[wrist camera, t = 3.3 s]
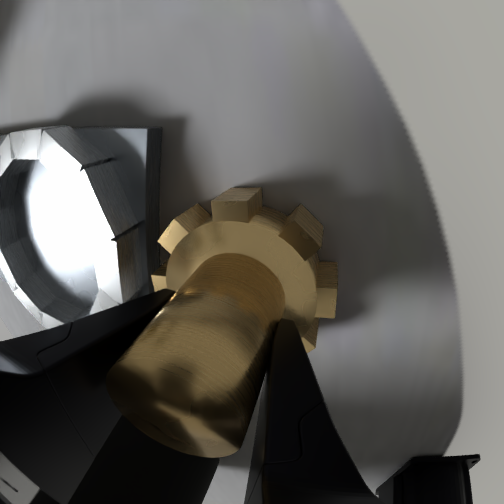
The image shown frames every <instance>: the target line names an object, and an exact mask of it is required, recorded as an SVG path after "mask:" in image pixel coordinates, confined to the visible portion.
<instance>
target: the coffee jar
mask: <svg viewBox="0 0 504 504" xmlns="http://www.w3.org/2000/svg"><path fill="white" fill-rule="evenodd" d="M218 463H219V457H216V458H211V457H200V456H195V455H190V454H186V453H183V452H180V451H177V450H175V449H172V448H170V447H167V446H165V445H163V444H161V443H159V442H157V441H155V440H154V439H152V438H151V437H149V436H147V435H146V434H144V433H143V432H141V431H140V430H139V429H138V428H136V427H135V426H134V425H133V424H132V423H130V422H129V421H128V420H127V419H126V418H125V417H124V416H123V415H121V417H120V418H119V420H118V422H117V423H116V425H115V426H114V428H113V430H112V431H111V433H110V434H109V436H108V438H107V439H106V441H105V442H104V444H103V446H102V447H101V449H100V450H99V452H98V454H97V455H96V457H95V459H94V461H93V462H92V464H91V466H90V467H89V469H88V470H87V472H86V474H85V475H84V477H83V479H82V480H81V482H80V484H79V485H78V487H77V489H76V490H75V492H74V494H73V495H72V497H71V499H70V500H69V502H68V504H202V502H203V500H204V497H205V495H206V493H207V491H208V488H209V486H210V484H211V481H212V479H213V476H214V474H215V472H216V469H217V466H218ZM30 504H60V503H58V502H57V501H56V500H54V499H53V498H52V497H50V496H49V495H48V494H46V493H45V492H44V491H42V490H41V489H40V490H39V492H38V493H37V494H36V496H35V497H34V499H33V500H32V501H31V503H30Z"/></svg>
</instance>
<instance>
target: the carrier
mask: <svg viewBox="0 0 504 504" xmlns="http://www.w3.org/2000/svg"><path fill="white" fill-rule="evenodd" d="M161 135H162V127H80V128H72V127H71V126H68V125H62V126H49V127H39V128H32V129H26V130H21V131H16V132H11V133H10V134H2V135H0V279H2V280H3V281H5V282H7V283H8V284H9V286H10V288H11V289H12V291H15V292H14V294H15V296H16V297H17V298H18V299H19V300H20V302H21V303H22V304H23V305H24V306H25V307H26V309H27V310H28V311H29V312H30V313H31V314H32V315H33V316H34V318H35V319H36V320H37V321H38V322H39V323H40V324H41V325H42V324H43V327H45V328H47V329H50V328H53V327H56V326H59V325H62V324H65V323H68V322H71V321H73V322H74V320H77V319H79V318H82V317H85V316H88V315H91V314H94V313H96V312H99V311H102V310H105V309H108V308H111V307H113V306H116V305H119V304H122V303H125V302H128V301H130V300H133V299H136V298H139V297H142V296H144V295H147V294H150V293H153V292H155V290H154V286H153V281H152V277H151V275H152V274H153V273H154V272H155V271H156V270H157V269H158V268H159V267H160V258H159V242H158V240H159V179H160V153H161Z"/></svg>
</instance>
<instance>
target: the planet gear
mask: <svg viewBox="0 0 504 504" xmlns="http://www.w3.org/2000/svg"><path fill="white" fill-rule="evenodd" d="M211 208H212V215H210V214H209V213H208V212H207V211H206V210H205V209H204V208H203V207H201V206H200V205H199V204H196V205H194V206H193V207H191V208H190V209H188V210H187V211H185V212H184V213H182V214H181V215H179V216H178V217H176V218H175V219H174V220H173V221H172V222H171V223H170V225H169V226H168V227H167V229H166V230H165V231H164V233H163V234H162V235H161V237H160V238H159V240H158V242H159V243H160V244H161V245H162V246H163V247H164V248H165V249H166V250H167V251H168V252H169V253H170V254H171V256H170V258H169V259H168V260H167V261H166V262H165V263H164V264H163V265H162V266H161V267H159V268H158V269H157V270H156V271H155V272H154V273H153V274H152V275H151V277H152V281H153V286H154V290H155V292H156V291H158V290H161V289H164V288H167V289H171V290H174V291H176V293H175V294H174V295H173V296H172V297H171V298H170V300H169V301H168V302H167V303H166V304H165V305H164V307H163V308H162V309H161V310H160V311H159V312H158V313H157V315H156V316H155V317H154V318H153V319H152V320H151V322H150V323H149V324H148V325H147V326H146V327H145V329H144V330H143V331H142V332H141V333H140V334H139V336H138V337H137V338H136V339H135V340H134V341H133V343H132V344H131V345H130V346H129V347H128V349H127V350H126V351H125V352H124V353H123V354H122V356H121V357H120V358H119V359H118V360H117V362H116V363H115V364H114V365H113V366H112V368H111V369H110V370H109V372H108V373H107V376H106V388H107V391H108V394H109V396H110V398H111V400H112V401H113V403H114V405H115V406H116V407H117V409H118V410H119V411H120V412H121V413H122V415H123V416H124V417H125V418H126V419H127V420H128V421H129V422H130V423H132V424H133V425H134V426H135V427H136V428H138V429H139V430H140V431H141V432H143V433H144V434H146V435H147V436H149V437H151V438H152V439H154V440H155V441H157V442H159V443H161V444H163V445H165V446H167V447H170V448H172V449H175V450H177V451H180V452H183V453H186V454H190V455H195V456H200V457H211V458H216V457H224V456H229V455H231V454H233V453H235V452H237V451H238V450H239V449H240V448H241V446H242V444H243V441H244V438H245V435H246V432H247V429H248V426H249V423H250V421H251V418H252V414H253V411H254V408H255V405H256V402H257V399H258V396H259V393H260V390H261V387H262V384H263V380H264V377H265V374H266V371H267V367H268V362H269V357H270V352H271V347H272V343H273V339H274V336H275V333H276V330H277V327H278V324H279V321H280V319H281V318H286V319H291V320H294V321H295V323H296V326H297V328H298V331H299V334H300V336H301V339H302V342H303V344H304V347H305V350H306V352H307V353H308V352H310V351H311V350H313V349H315V348H316V340H317V332H318V323H319V317H320V318H335V311H336V300H337V289H338V268H337V262H324V261H319V257H318V254H317V251H318V250H319V249H320V248H321V246H322V236H323V225H322V224H321V223H320V222H319V221H318V220H317V219H316V218H315V217H314V216H313V215H312V214H311V213H310V212H309V211H308V210H307V209H306V208H305V207H304V206H303V205H302V204H300V205H299V206H298V207H297V208H296V209H295V210H294V211H293V212H292V213H291V214H289V215H288V216H287V215H285V214H283V213H281V212H279V211H277V210H275V209H272V208H269V207H266V206H263V204H262V187H258V188H230V189H228V190H227V191H225V192H224V193H222V194H221V195H219V196H218V197H216V198H215V199H213V200H212V201H211Z"/></svg>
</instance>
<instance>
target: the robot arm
mask: <svg viewBox="0 0 504 504" xmlns="http://www.w3.org/2000/svg"><path fill="white" fill-rule="evenodd" d="M175 293H176V291H174V290H171V289H167V288H164V289H161V290H158V291H156V292H153V293H150V294H147V295H144V296H142V297H139V298H136V299H133V300H130V301H128V302H125V303H122V304H119V305H116V306H113V307H111V308H108V309H105V310H102V311H99V312H96V313H94V314H91V315H88V316H85V317H82V318H79V319H77V320H74V322H73V321H71V322H68V323H65V324H62V325H59V326H56V327H53V328H50V329H47V330H43V331H40V332H36V333H32V334H29V335H25V336H21V337H17V338H13V339H9V340H5V341H0V504H30V503H31V501H32V500H33V499H34V497H35V496H36V494H37V493H38V492H39V490H40V489H41V490H42V491H44V492H45V493H46V494H48V495H49V496H50V497H52V498H53V499H54V500H56V501H57V502H58V503H60V504H68V502H69V500H70V499H71V497H72V495H73V494H74V492H75V490H76V489H77V487H78V485H79V484H80V482H81V480H82V479H83V477H84V475H85V474H86V472H87V470H88V469H89V467H90V466H91V464H92V462H93V461H94V459H95V457H96V455H97V454H98V452H99V450H100V449H101V447H102V446H103V444H104V442H105V441H106V439H107V438H108V436H109V434H110V433H111V431H112V430H113V428H114V426H115V425H116V423H117V422H118V420H119V418H120V417H121V415H122V413H121V412H120V411H119V410H118V409H117V407H116V406H115V405H114V403H113V401H112V400H111V398H110V396H109V394H108V391H107V388H106V376H107V373H108V372H109V370H110V369H111V368H112V366H113V365H114V364H115V363H116V362H117V360H118V359H119V358H120V357H121V356H122V354H123V353H124V352H125V351H126V350H127V349H128V347H129V346H130V345H131V344H132V343H133V341H134V340H135V339H136V338H137V337H138V336H139V334H140V333H141V332H142V331H143V330H144V329H145V327H146V326H147V325H148V324H149V323H150V322H151V320H152V319H153V318H154V317H155V316H156V315H157V313H158V312H159V311H160V310H161V309H162V308H163V307H164V305H165V304H166V303H167V302H168V301H169V300H170V298H171V297H172V296H173V295H174V294H175ZM479 461H480V455H479V454H475V455H462V456H445V457H416V458H413V459H411V460H409V461H408V462H407V463H406V464H405V465H404V466H403V467H402V468H401V469H399V470H398V471H397V472H396V473H395V474H394V475H393V476H392V477H390V478H389V479H388V480H387V481H386V482H384V483H383V484H382V485H381V486H380V487H378V488H377V489H376V495H379V498H378V497H377V496H376V495H374V494H373V492H372V491H371V490H370V489H369V488H368V486H367V485H366V484H365V482H364V480H363V479H362V477H361V475H360V473H359V471H358V469H357V468H356V466H355V464H354V462H353V460H352V459H351V457H350V455H349V453H348V451H347V449H346V448H345V446H344V444H343V442H342V440H341V438H340V436H339V434H338V432H337V430H336V428H335V426H334V423H333V421H332V418H331V416H330V414H329V411H328V408H327V406H326V403H325V402H324V398H323V395H322V392H321V390H320V387H319V384H318V382H317V379H316V376H315V374H314V371H313V368H312V366H311V363H310V360H309V358H308V355H307V352H306V350H305V347H304V344H303V342H302V339H301V336H300V334H299V331H298V328H297V326H296V323H295V321H294V320H291V319H286V318H281V319H280V321H279V324H278V327H277V330H276V333H275V336H274V339H273V343H272V347H271V352H270V357H269V362H268V367H267V371H266V375H265V380H264V384H263V389H262V395H261V402H260V409H259V415H258V422H257V428H256V435H255V441H254V447H253V454H252V460H251V466H250V472H249V478H248V484H247V489H246V495H245V501H244V504H473V501H472V492H471V483H470V475H469V469H470V468H472V467H473V466H474V465H475V464H476V463H478V462H479Z"/></svg>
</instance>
